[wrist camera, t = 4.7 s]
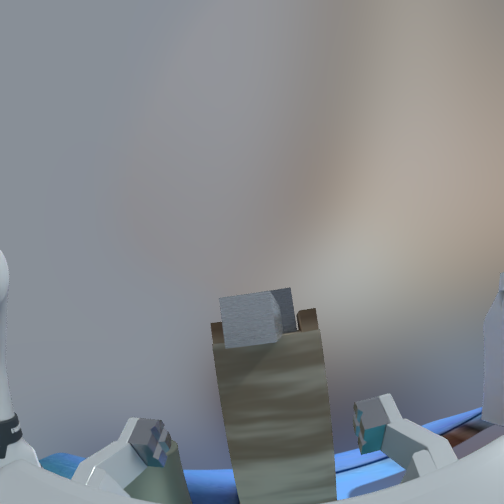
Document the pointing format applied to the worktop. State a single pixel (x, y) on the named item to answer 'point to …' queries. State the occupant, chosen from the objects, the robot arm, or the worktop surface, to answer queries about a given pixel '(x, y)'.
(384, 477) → the worktop surface
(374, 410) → the robot arm
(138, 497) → the can
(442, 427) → the worktop surface
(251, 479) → the post
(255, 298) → the steel bar
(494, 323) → the milk
